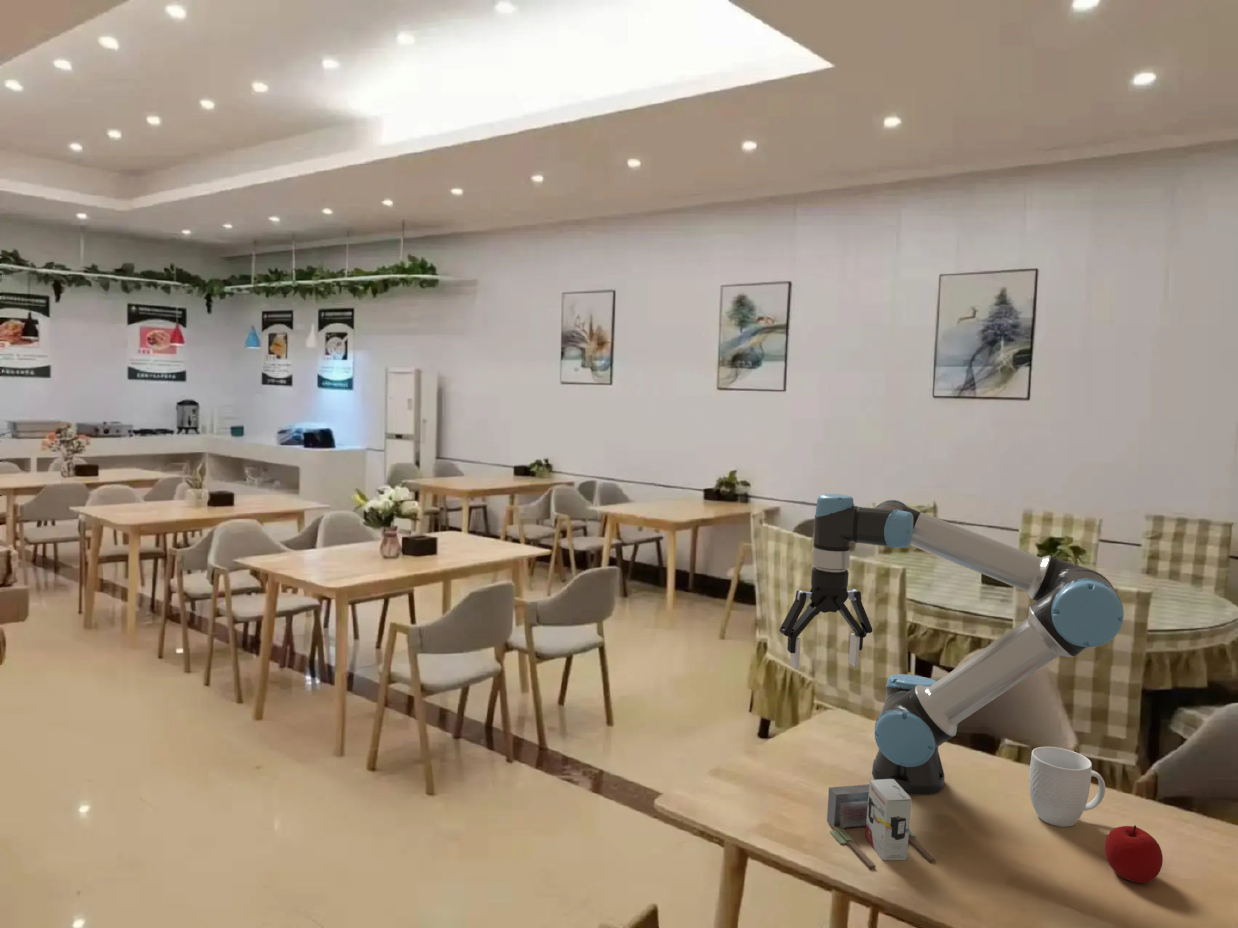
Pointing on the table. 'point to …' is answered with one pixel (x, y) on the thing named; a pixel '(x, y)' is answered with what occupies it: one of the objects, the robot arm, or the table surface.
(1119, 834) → the apple
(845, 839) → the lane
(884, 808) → the ink box
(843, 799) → the grey block
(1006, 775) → the table surface
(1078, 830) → the table surface
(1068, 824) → the mug
